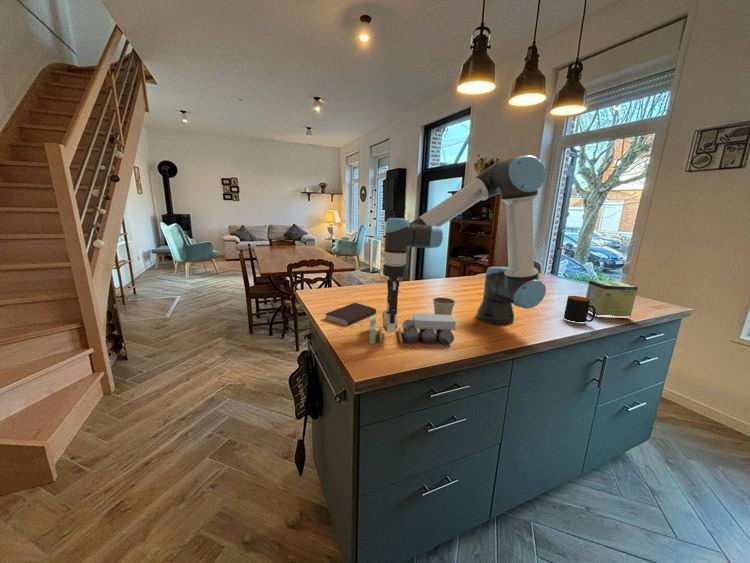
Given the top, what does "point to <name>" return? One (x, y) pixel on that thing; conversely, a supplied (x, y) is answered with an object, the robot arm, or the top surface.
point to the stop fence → (372, 329)
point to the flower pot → (443, 305)
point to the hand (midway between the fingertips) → (390, 325)
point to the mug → (578, 309)
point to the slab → (433, 321)
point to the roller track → (422, 334)
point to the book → (350, 314)
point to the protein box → (611, 297)
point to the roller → (386, 320)
